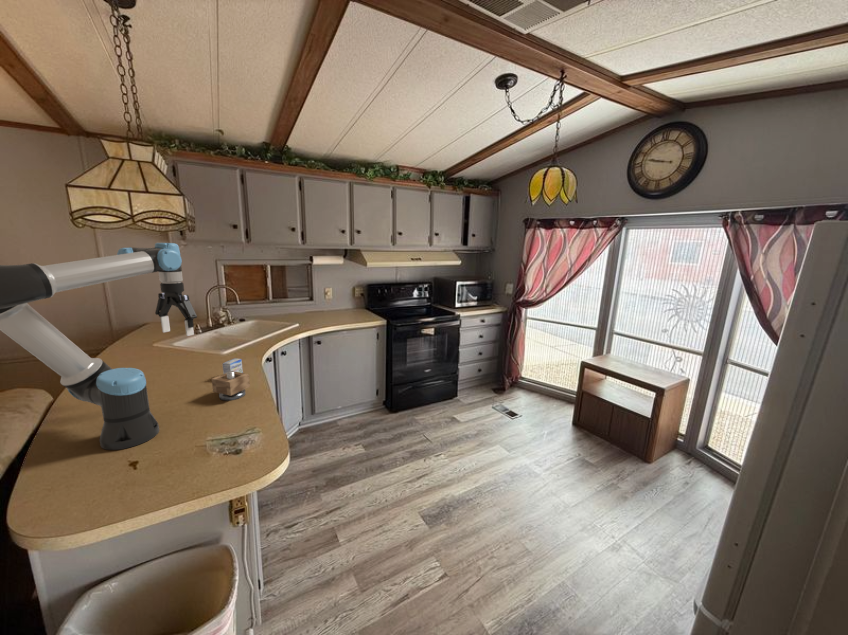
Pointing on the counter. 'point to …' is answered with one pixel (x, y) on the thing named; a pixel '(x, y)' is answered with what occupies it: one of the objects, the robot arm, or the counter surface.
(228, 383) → the light wood square frame
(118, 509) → the counter surface
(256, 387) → the counter surface
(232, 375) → the post stand
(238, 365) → the medicine box
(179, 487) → the counter surface
